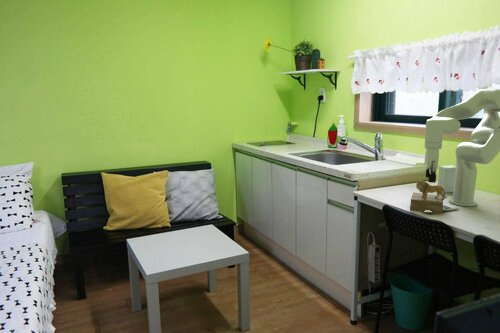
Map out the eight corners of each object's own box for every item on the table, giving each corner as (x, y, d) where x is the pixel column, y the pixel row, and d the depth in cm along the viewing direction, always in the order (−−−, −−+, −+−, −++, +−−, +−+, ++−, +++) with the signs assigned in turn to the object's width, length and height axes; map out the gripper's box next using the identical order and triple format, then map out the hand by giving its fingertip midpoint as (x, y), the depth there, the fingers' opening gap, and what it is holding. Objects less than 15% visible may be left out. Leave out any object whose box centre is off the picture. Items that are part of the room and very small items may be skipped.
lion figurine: (416, 199, 187) (418, 181, 185) (413, 196, 192) (415, 178, 190) (448, 200, 185) (450, 182, 183) (444, 197, 190) (446, 179, 188)
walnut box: (412, 203, 200) (413, 192, 199) (442, 207, 194) (443, 196, 193) (409, 211, 188) (410, 199, 187) (441, 215, 182) (443, 203, 181)
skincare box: (448, 189, 226) (451, 164, 223) (456, 192, 220) (459, 166, 217) (436, 190, 224) (438, 165, 221) (443, 193, 219) (446, 167, 216)
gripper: (422, 142, 193) (420, 175, 197) (426, 147, 177) (424, 183, 181) (439, 142, 191) (436, 176, 195) (445, 148, 175) (442, 184, 178)
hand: (430, 179), depth 188 cm, fingers open, 9 cm apart
